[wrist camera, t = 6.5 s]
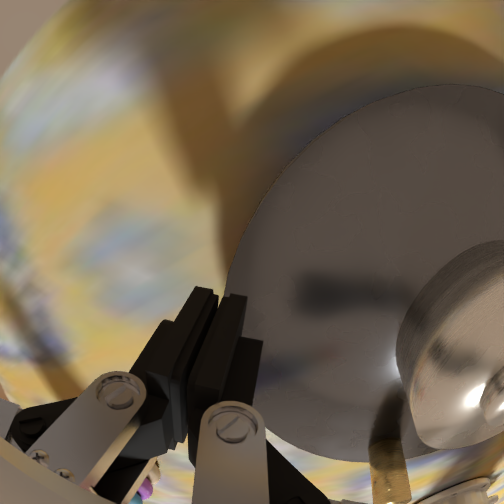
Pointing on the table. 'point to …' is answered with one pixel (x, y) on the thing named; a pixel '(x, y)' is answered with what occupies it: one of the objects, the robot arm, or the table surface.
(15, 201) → the table surface
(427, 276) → the turntable
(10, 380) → the table surface
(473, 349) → the cover
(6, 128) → the table surface
